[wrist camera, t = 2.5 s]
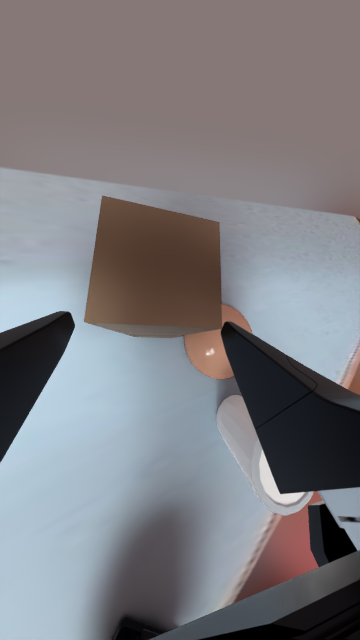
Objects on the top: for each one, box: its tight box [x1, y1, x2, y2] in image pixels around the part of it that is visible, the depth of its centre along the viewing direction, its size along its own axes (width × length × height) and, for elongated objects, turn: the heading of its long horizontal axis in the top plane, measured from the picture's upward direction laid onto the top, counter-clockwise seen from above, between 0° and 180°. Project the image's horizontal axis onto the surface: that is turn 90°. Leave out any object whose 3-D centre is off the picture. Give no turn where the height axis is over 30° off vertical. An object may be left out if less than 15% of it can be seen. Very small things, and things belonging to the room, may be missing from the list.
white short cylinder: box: [216, 395, 314, 516], centre depth 14 cm, size 7×7×7 cm
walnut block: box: [84, 196, 222, 338], centre depth 11 cm, size 4×4×13 cm
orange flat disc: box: [184, 304, 252, 379], centre depth 18 cm, size 10×10×1 cm
